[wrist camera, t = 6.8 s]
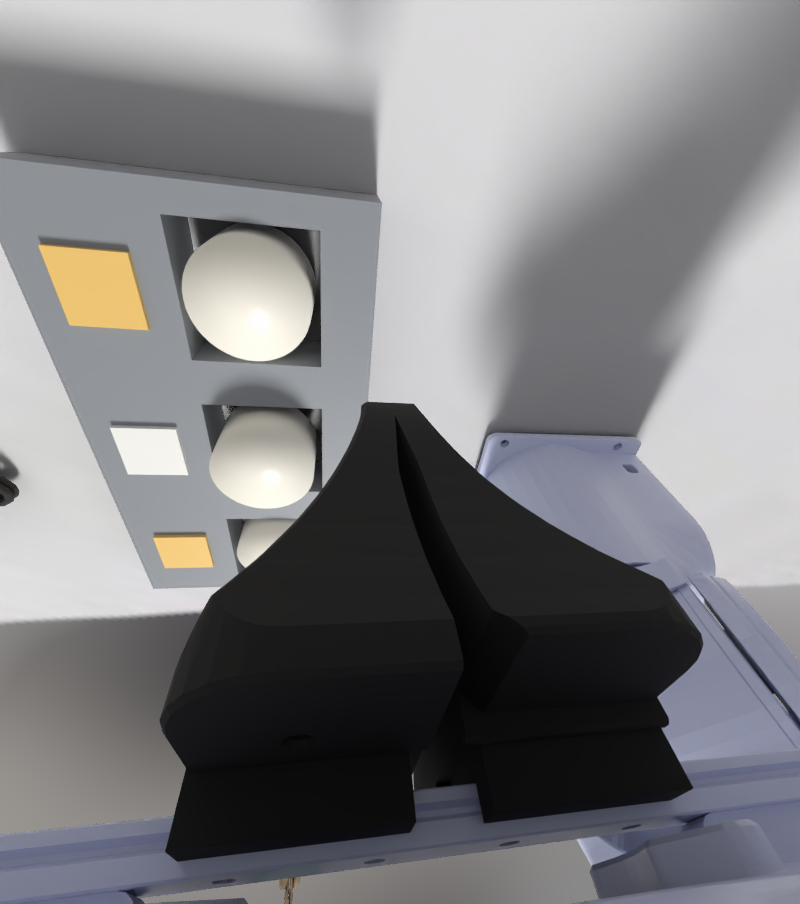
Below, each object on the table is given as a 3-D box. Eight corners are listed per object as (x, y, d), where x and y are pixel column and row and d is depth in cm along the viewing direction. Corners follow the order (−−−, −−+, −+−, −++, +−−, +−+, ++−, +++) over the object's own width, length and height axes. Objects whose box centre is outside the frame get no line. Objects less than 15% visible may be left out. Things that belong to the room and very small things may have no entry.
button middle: (316, 401, 19) (312, 433, 17) (317, 473, 21) (314, 508, 19) (216, 397, 18) (199, 430, 16) (230, 472, 21) (218, 508, 19)
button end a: (319, 494, 24) (316, 527, 22) (320, 543, 26) (317, 577, 24) (241, 494, 23) (231, 528, 21) (250, 544, 26) (241, 578, 24)
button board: (377, 195, 15) (382, 203, 13) (354, 551, 28) (355, 585, 26) (17, 151, 13) (-45, 153, 11) (168, 554, 26) (152, 591, 24)
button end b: (315, 228, 15) (310, 242, 13) (316, 339, 18) (313, 364, 16) (192, 215, 15) (167, 227, 13) (213, 332, 17) (195, 357, 15)
